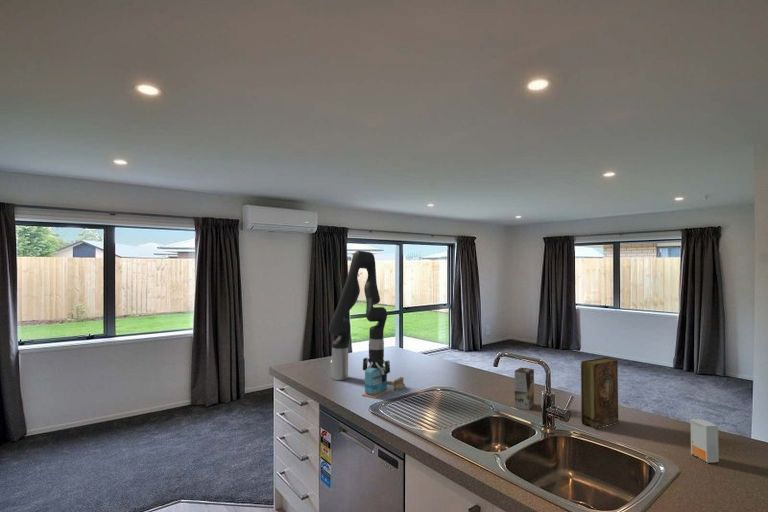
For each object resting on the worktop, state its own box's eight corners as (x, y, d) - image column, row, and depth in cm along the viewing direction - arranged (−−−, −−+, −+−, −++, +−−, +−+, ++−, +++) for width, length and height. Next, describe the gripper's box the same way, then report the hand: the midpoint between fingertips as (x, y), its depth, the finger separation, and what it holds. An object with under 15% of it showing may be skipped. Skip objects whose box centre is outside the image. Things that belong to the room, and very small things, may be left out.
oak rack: (368, 386, 200) (368, 376, 201) (377, 381, 209) (377, 372, 209) (396, 391, 192) (396, 381, 193) (404, 386, 201) (404, 376, 201)
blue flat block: (371, 396, 183) (371, 370, 183) (364, 394, 186) (364, 369, 186) (387, 390, 192) (387, 365, 193) (380, 388, 195) (380, 364, 195)
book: (607, 417, 159) (606, 357, 160) (620, 422, 154) (619, 359, 155) (581, 424, 152) (580, 361, 152) (594, 430, 147) (593, 364, 148)
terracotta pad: (361, 395, 185) (361, 394, 185) (375, 388, 197) (375, 387, 197) (376, 398, 181) (376, 397, 181) (389, 390, 193) (389, 389, 193)
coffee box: (529, 410, 167) (528, 373, 168) (514, 407, 171) (514, 371, 171) (534, 404, 174) (534, 368, 175) (520, 401, 178) (519, 366, 179)
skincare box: (690, 455, 127) (689, 418, 127) (702, 454, 127) (701, 418, 128) (707, 464, 121) (706, 426, 121) (719, 464, 121) (718, 425, 122)
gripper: (392, 347, 190) (392, 380, 189) (367, 344, 196) (367, 376, 196) (385, 350, 183) (385, 384, 182) (360, 347, 190) (359, 380, 189)
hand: (376, 380), depth 189 cm, fingers open, 8 cm apart
